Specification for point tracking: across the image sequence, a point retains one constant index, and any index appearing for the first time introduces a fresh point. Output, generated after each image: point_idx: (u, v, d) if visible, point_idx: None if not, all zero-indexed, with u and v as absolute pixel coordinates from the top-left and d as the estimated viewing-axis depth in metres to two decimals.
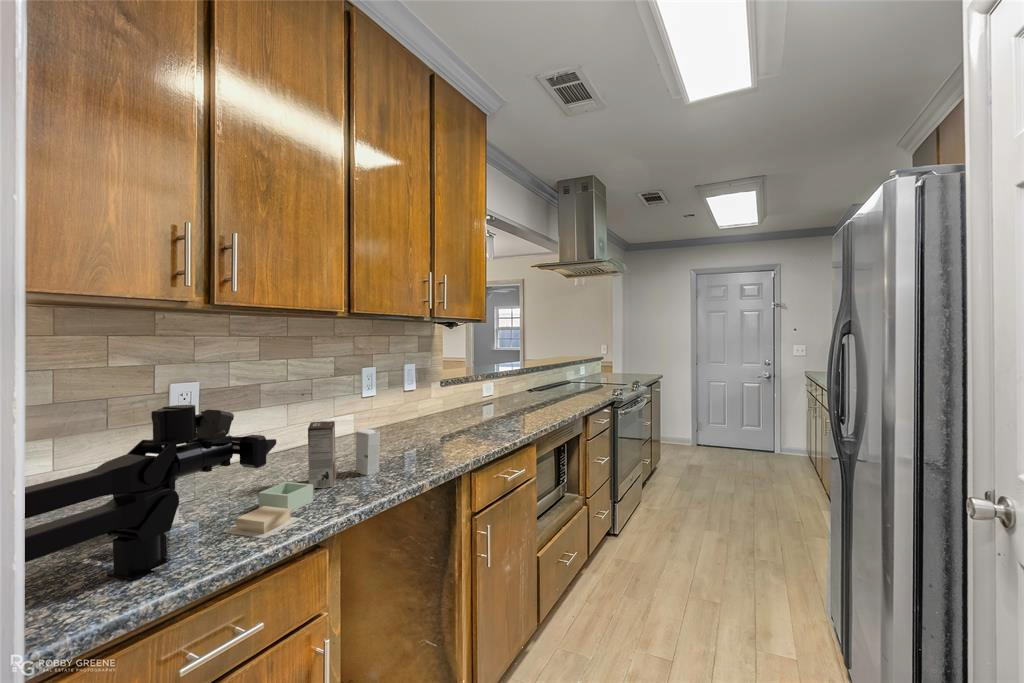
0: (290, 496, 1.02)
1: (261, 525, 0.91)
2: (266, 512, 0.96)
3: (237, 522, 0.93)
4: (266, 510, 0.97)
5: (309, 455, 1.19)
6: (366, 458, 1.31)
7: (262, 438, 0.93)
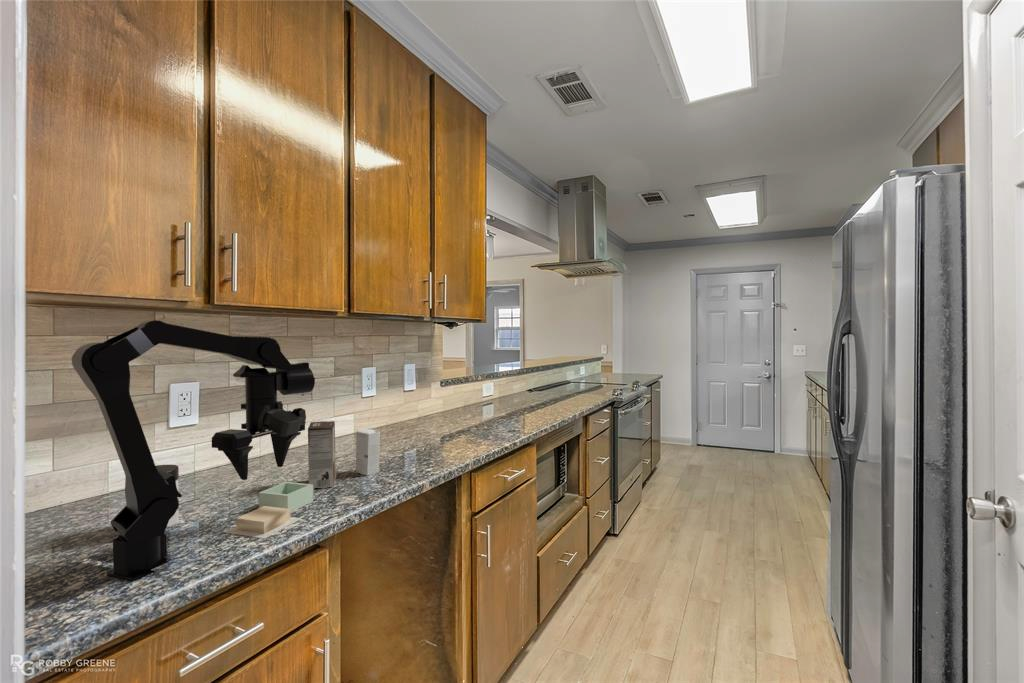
0: (290, 496, 1.02)
1: (261, 525, 0.91)
2: (266, 512, 0.96)
3: (237, 522, 0.93)
4: (266, 510, 0.97)
5: (309, 455, 1.19)
6: (366, 458, 1.31)
7: (233, 445, 0.86)
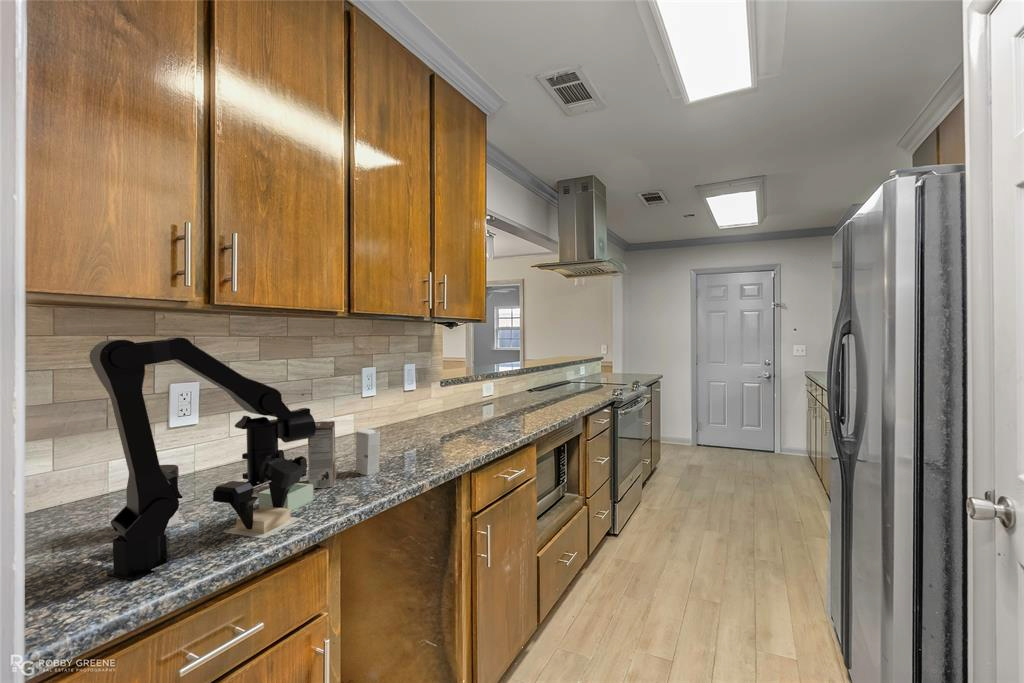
0: (290, 496, 1.02)
1: (261, 525, 0.91)
2: (266, 512, 0.96)
3: (237, 522, 0.93)
4: (266, 510, 0.97)
5: (309, 455, 1.19)
6: (366, 458, 1.31)
7: (235, 499, 0.86)
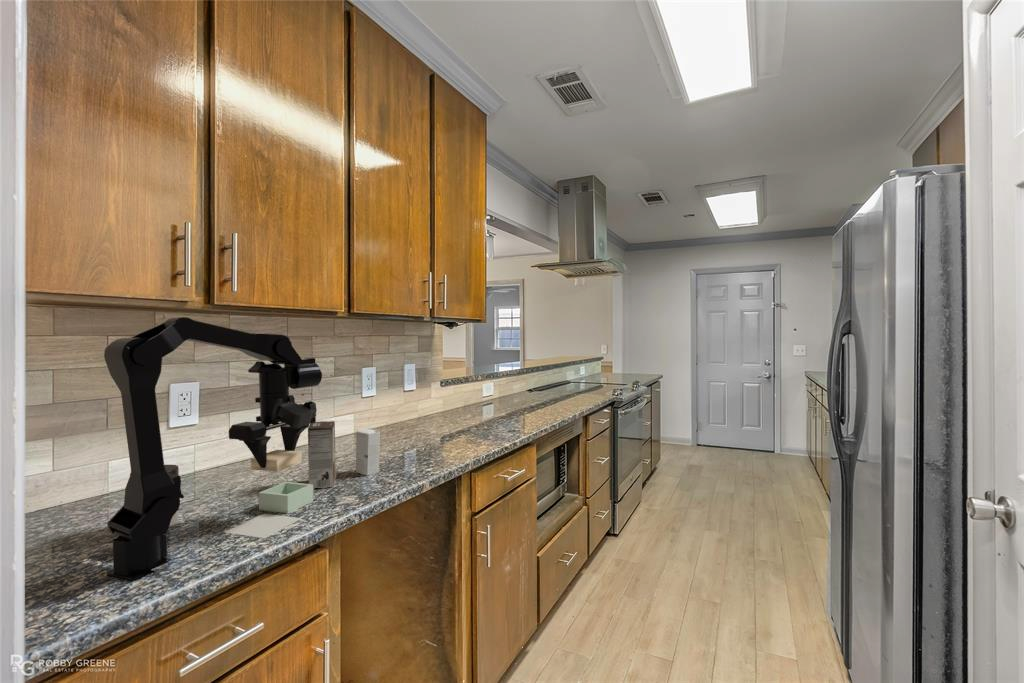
0: (290, 496, 1.02)
1: (274, 463, 0.97)
2: (279, 454, 1.01)
3: (252, 462, 0.99)
4: (279, 452, 1.03)
5: (309, 455, 1.19)
6: (366, 458, 1.31)
7: (249, 436, 0.91)
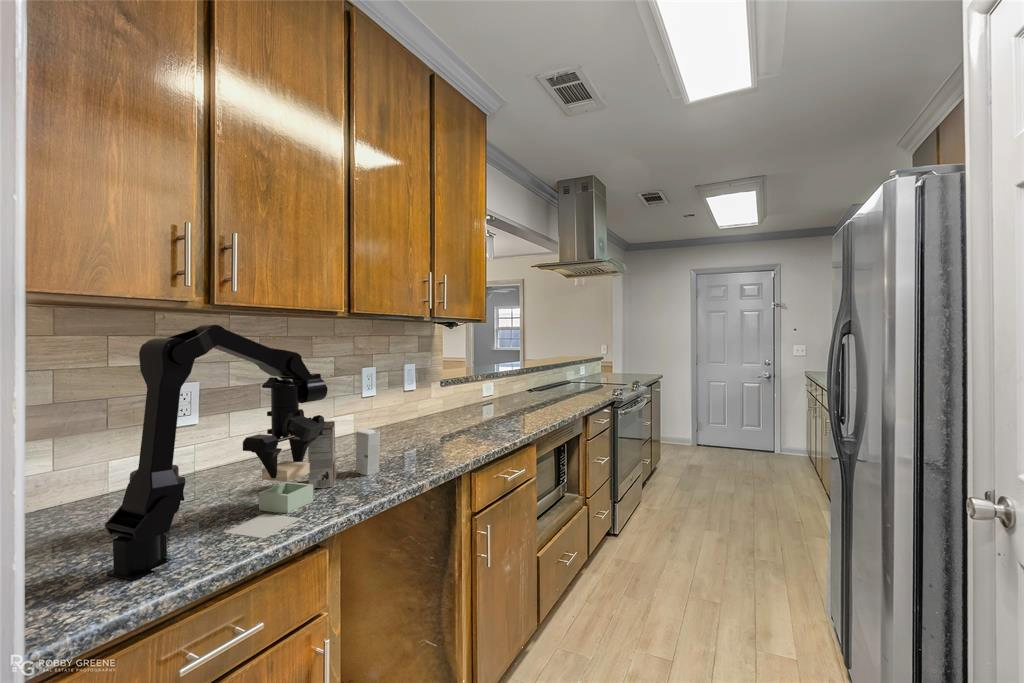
0: (290, 496, 1.02)
1: (284, 474, 1.02)
2: (288, 465, 1.07)
3: (262, 472, 1.04)
4: (288, 463, 1.08)
5: (309, 455, 1.19)
6: (366, 458, 1.31)
7: (262, 448, 0.97)
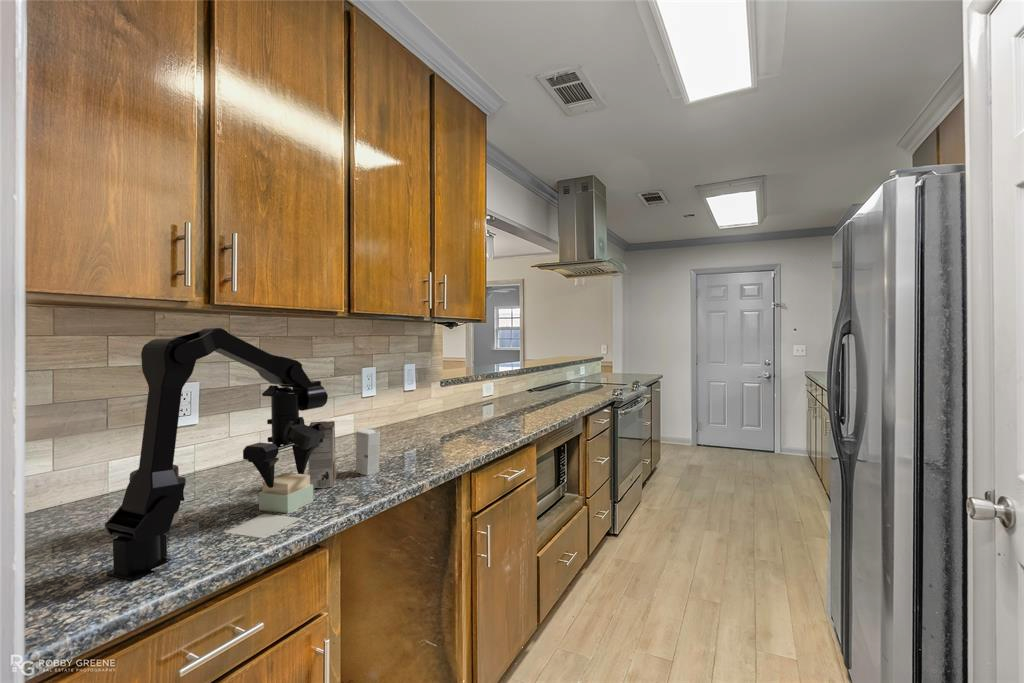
0: (290, 496, 1.02)
1: (285, 487, 1.02)
2: (288, 477, 1.07)
3: (263, 485, 1.04)
4: (288, 476, 1.08)
5: None
6: (366, 458, 1.31)
7: (263, 457, 0.97)
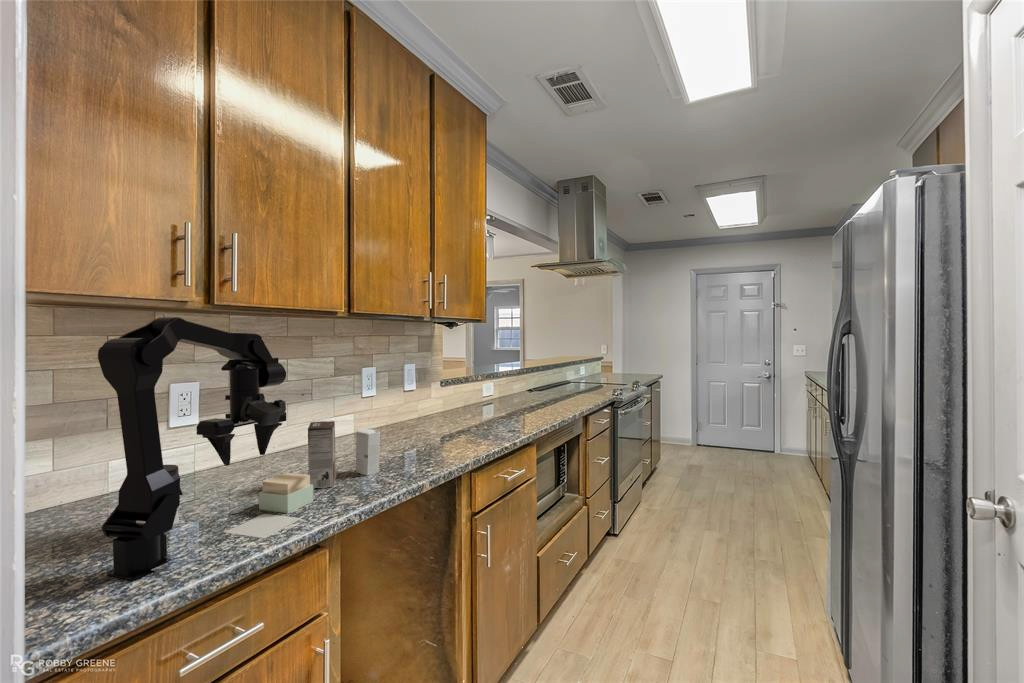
0: (290, 496, 1.02)
1: (285, 487, 1.02)
2: (288, 477, 1.07)
3: (263, 485, 1.04)
4: (288, 476, 1.08)
5: (309, 455, 1.19)
6: (366, 458, 1.31)
7: (216, 432, 0.93)
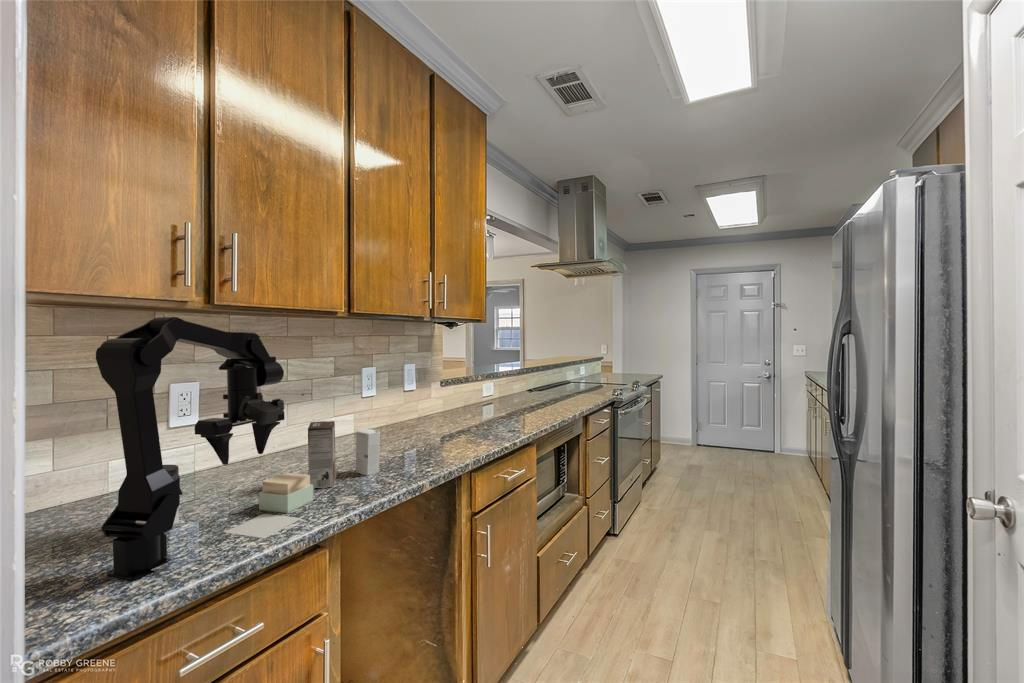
0: (290, 496, 1.02)
1: (285, 487, 1.02)
2: (288, 477, 1.07)
3: (263, 485, 1.04)
4: (288, 476, 1.08)
5: (309, 455, 1.19)
6: (366, 458, 1.31)
7: (214, 431, 0.93)
